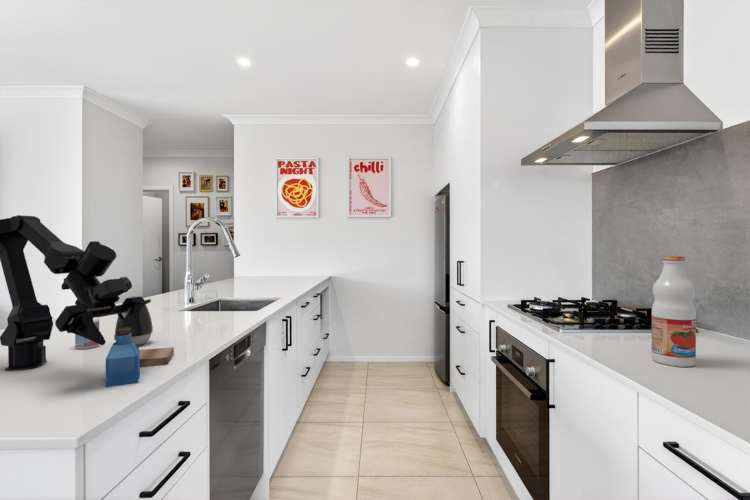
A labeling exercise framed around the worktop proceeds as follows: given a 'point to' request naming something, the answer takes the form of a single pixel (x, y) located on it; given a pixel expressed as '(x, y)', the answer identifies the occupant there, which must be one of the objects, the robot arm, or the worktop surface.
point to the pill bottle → (84, 342)
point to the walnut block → (155, 356)
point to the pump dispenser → (145, 326)
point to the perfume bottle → (123, 360)
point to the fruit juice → (674, 316)
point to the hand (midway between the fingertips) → (123, 339)
